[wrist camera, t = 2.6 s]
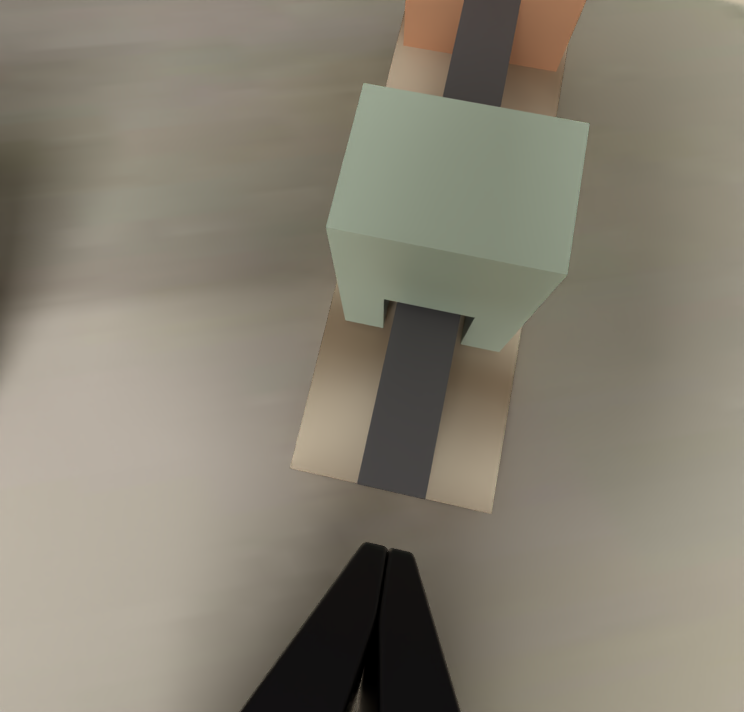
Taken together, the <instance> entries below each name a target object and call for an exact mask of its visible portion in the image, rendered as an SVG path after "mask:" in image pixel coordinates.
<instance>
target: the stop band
mask: <svg viewBox="0 0 744 712" xmlns="http://www.w3.org/2000/svg"><path fill="white" fill-rule="evenodd" d="M585 2H586V0H521V3H520V8H519V14H518V19H517V24H516V29H515V34H514V40H513V45H512V50H511V55H510V61H509V64H513V65H519V66H525V67H531V68H536V69H542V70H548V71H554V72H556V71H557V69H558V66H559V64H560V61H561V59H562V57H563V54H564V52H565V50H566V47H567V45H568V43H569V40H570V38H571V35H572V33H573V31H574V28H575V26H576V24H577V21H578V19H579V17H580V14H581V12H582V9H583V7H584V5H585ZM463 3H464V0H406V3H405V22H404V42H403V46H409V47H415V48H420V49H426V50H432V51H438V52H444V53H449V54H452V52H453V48H454V43H455V39H456V34H457V30H458V25H459V21H460V16H461V12H462V7H463Z"/></svg>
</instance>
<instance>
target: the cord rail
mask: <svg viewBox="0 0 744 712" xmlns="http://www.w3.org/2000/svg"><path fill="white" fill-rule="evenodd" d="M520 3H521V0H464V3H463V7H462V12H461V16H460V21H459V25H458V30H457V34H456V39H455V43H454V48H453V52H452V57H451V61H450V66H449V70H448V75H447V79H446V84H445V89H444V93H443V97H445V98H451V99H457V100H462V101H468V102H474V103H479V104H485V105H490V106H496V107H501V102H502V97H503V92H504V87H505V81H506V76H507V71H508V66H509V61H510V55H511V50H512V45H513V40H514V34H515V29H516V24H517V19H518V14H519V8H520ZM460 316H461V315H459V314H454V313H450V312H445V311H440V310H435V309H430V308H425V307H420V306H415V305H410V304H405V303H401V302H397V305H396V310H395V314H394V319H393V323H392V328H391V332H390V337H389V341H388V346H387V350H386V355H385V359H384V364H383V368H382V373H381V377H380V382H379V386H378V391H377V395H376V400H375V405H374V409H373V414H372V418H371V423H370V427H369V432H368V436H367V441H366V445H365V450H364V454H363V459H362V463H361V468H360V472H359V477H358V481H357V484H360V485H364V486H369V487H373V488H378V489H382V490H386V491H391V492H395V493H400V494H404V495H408V496H413V497H417V498H422V499H426V493H427V488H428V483H429V478H430V473H431V467H432V462H433V457H434V452H435V447H436V441H437V436H438V431H439V426H440V420H441V415H442V410H443V405H444V400H445V394H446V389H447V384H448V379H449V374H450V368H451V363H452V358H453V353H454V347H455V342H456V337H457V332H458V327H459V321H460Z"/></svg>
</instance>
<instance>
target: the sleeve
mask: <svg viewBox="0 0 744 712" xmlns="http://www.w3.org/2000/svg"><path fill="white" fill-rule="evenodd" d="M589 125H590V123H586V122H580V121H575V120H569V119H563V118H558V117H552V116H547V115H541V114H535V113H530V112H524V111H518V110H513V109H507V108H502V107H496V106H490V105H485V104H479V103H474V102H468V101H462V100H457V99H451V98H445V97H440V96H434V95H429V94H423V93H417V92H412V91H406V90H400V89H395V88H389V87H384V86H378V85H372V84H367V83H363V87H362V91H361V95H360V99H359V103H358V106H357V110H356V114H355V118H354V122H353V125H352V129H351V133H350V137H349V141H348V144H347V148H346V152H345V156H344V160H343V163H342V167H341V171H340V175H339V179H338V182H337V186H336V190H335V194H334V198H333V202H332V205H331V209H330V213H329V217H328V221H327V224H326V231H327V236H328V240H329V245H330V250H331V255H332V259H333V264H334V269H335V274H336V278H337V283H338V288H339V293H340V297H341V302H342V307H343V312H344V316H345V320H346V321H351V322H356V323H361V324H365V325H370V326H375V327H380V328H383V327H384V323H385V318H386V314H387V309H388V305H389V301H390V300H391V301H396V302H401V303H405V304H410V305H415V306H420V307H425V308H430V309H435V310H440V311H445V312H450V313H454V314H459V315H464V316H465V322H464V327H463V332H462V337H461V343H460V344H462V345H467V346H471V347H476V348H481V349H486V350H491V351H495V352H500V351H501V350H502V349H503V347H504V346H505V345H506V344H507V343H508V342H509V341H510V339H511V338H512V337H513V336H514V335H515V334H516V333H517V332H518V330H519V329H520V328H521V327H522V326H523V325H524V324H525V322H526V321H527V320H528V319H529V318H530V317H531V316H532V315H533V313H534V312H535V311H536V310H537V309H538V308H539V307H540V305H541V304H542V303H543V302H544V301H545V300H546V299H547V298H548V296H549V295H550V294H551V293H552V292H553V291H554V290H555V288H556V287H557V286H558V285H559V284H560V283H561V282H562V281H563V279H564V278H565V277H566V276H567V275H568V268H569V261H570V255H571V248H572V241H573V234H574V227H575V220H576V214H577V207H578V200H579V193H580V186H581V179H582V173H583V166H584V159H585V152H586V145H587V138H588V132H589Z"/></svg>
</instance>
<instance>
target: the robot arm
mask: <svg viewBox="0 0 744 712" xmlns="http://www.w3.org/2000/svg"><path fill="white" fill-rule="evenodd" d="M362 674H363V675H362ZM361 678H362V682H361ZM360 682H361V688H360V698H359V708H358V712H461V711H460V708H459V705H458V701H457V698H456V694H455V691H454V688H453V684H452V681H451V678H450V674H449V671H448V668H447V664H446V661H445V657H444V654H443V651H442V647H441V644H440V641H439V637H438V634H437V631H436V627H435V624H434V620H433V617H432V614H431V610H430V607H429V604H428V600H427V597H426V594H425V590H424V587H423V583H422V580H421V577H420V573H419V570H418V567H417V563H416V560H415V557H414V555H413V554H412V553H410V552H407V551H403V550H398V549H394V548H391V549H389V550H388V552H387V548H386V547H384V546H381V545H377V544H373V543H369V542H365V543H363V544H362V545H361V546H360V547H359V549H358V550H357V551H356V553H355V554H354V555H353V557H352V558H351V560H350V561H349V562H348V564H347V565H346V566H345V568H344V569H343V571H342V572H341V573H340V575H339V576H338V577H337V579H336V580H335V582H334V583H333V584H332V586H331V587H330V588H329V590H328V591H327V593H326V594H325V595H324V597H323V598H322V599H321V601H320V602H319V603H318V605H317V606H316V608H315V609H314V610H313V612H312V613H311V614H310V616H309V617H308V619H307V620H306V621H305V623H304V624H303V625H302V627H301V628H300V630H299V631H298V632H297V634H296V635H295V636H294V638H293V639H292V641H291V642H290V643H289V645H288V646H287V647H286V649H285V650H284V652H283V653H282V654H281V656H280V657H279V658H278V660H277V661H276V663H275V664H274V665H273V667H272V668H271V669H270V671H269V672H268V673H267V675H266V676H265V678H264V679H263V680H262V682H261V683H260V684H259V686H258V687H257V689H256V690H255V691H254V693H253V694H252V695H251V697H250V698H249V700H248V701H247V702H246V704H245V705H244V706H243V708H242V709H241V711H240V712H352V711H353V707H354V704H355V701H356V697H357V694H358V690H359V686H360Z"/></svg>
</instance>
